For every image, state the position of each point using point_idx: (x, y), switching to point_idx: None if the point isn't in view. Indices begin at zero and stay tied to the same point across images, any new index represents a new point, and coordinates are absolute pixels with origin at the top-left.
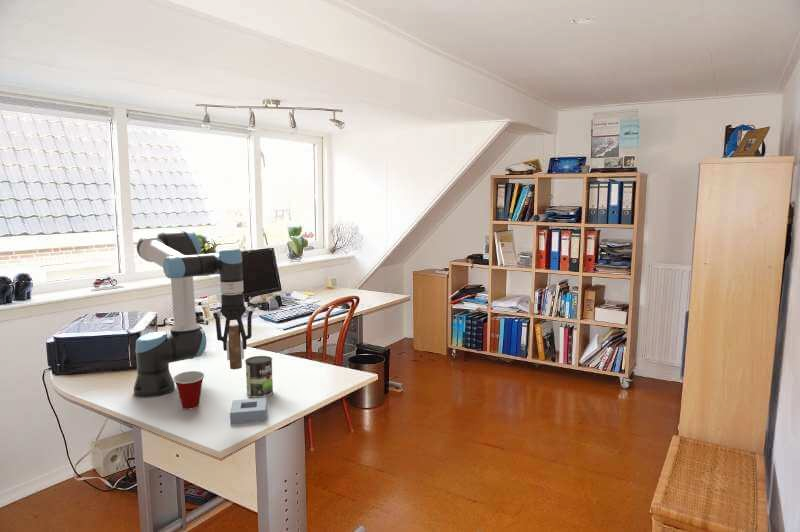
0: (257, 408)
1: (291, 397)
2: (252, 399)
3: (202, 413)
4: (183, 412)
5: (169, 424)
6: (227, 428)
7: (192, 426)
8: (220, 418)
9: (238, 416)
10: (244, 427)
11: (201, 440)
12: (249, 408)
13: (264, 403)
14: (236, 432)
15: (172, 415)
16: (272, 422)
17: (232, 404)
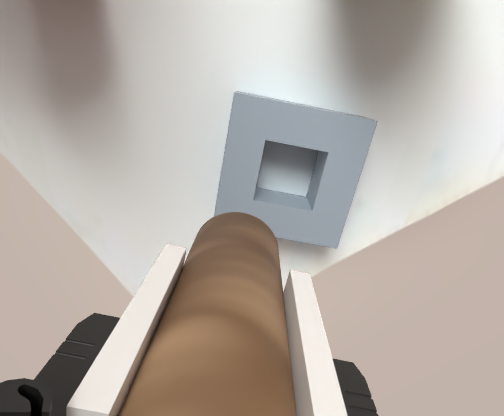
0: (312, 225)
1: (497, 35)
2: (316, 120)
3: (120, 66)
4: (42, 18)
5: (15, 128)
6: None
7: (98, 178)
8: (187, 148)
9: None
10: None
11: (134, 284)
12: (285, 213)
13: (349, 187)
14: None
15: (3, 35)
16: (343, 250)
17: (228, 143)
